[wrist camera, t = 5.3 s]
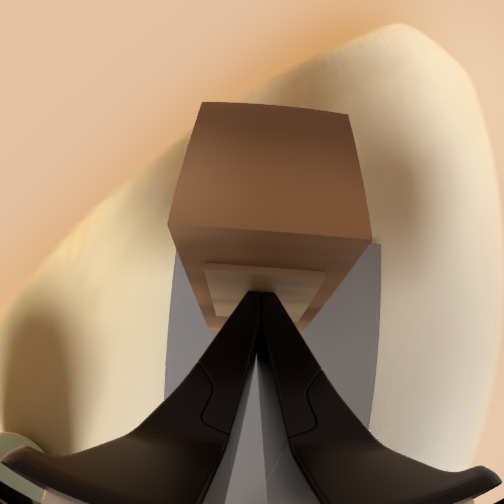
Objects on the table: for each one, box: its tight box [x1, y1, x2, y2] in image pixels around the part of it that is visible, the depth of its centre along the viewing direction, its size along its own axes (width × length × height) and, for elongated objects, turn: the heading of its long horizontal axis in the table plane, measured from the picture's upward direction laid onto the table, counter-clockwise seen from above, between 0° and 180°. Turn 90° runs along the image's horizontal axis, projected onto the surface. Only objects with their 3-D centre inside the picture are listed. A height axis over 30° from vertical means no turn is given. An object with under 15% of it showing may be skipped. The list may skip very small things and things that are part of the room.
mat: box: [164, 244, 381, 504], centre depth 16 cm, size 18×12×1 cm, turn 176°
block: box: [167, 102, 372, 334], centre depth 12 cm, size 5×4×10 cm
